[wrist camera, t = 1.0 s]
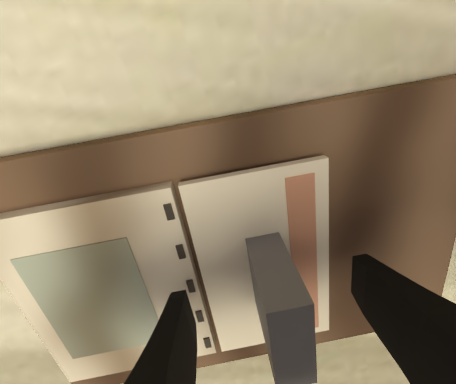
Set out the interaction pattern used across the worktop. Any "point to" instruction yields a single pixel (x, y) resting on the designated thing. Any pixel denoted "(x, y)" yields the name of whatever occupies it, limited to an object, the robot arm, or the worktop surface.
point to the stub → (266, 259)
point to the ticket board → (179, 230)
